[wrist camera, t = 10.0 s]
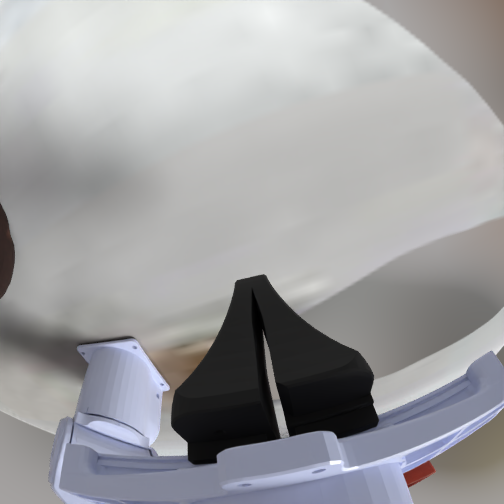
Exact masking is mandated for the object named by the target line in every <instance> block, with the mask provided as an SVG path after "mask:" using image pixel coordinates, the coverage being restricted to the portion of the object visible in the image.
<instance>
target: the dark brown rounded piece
mask: <svg viewBox="0 0 504 504" xmlns="http://www.w3.org/2000/svg"><path fill="white" fill-rule="evenodd" d="M14 263H15V250H14V244H13V241H12V238H11V235H10V230H9V224H8V220H7V216H6V214H5V212H4V210H3V208H2V205H1V204H0V299H1V298H2V297H3V295H4V294H5V292H6V290H7V288H8V286H9V284H10V282H11V278H12V274H13V269H14Z"/></svg>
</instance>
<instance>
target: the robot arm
mask: <svg viewBox="0 0 504 504" xmlns="http://www.w3.org/2000/svg"><path fill="white" fill-rule="evenodd" d="M263 332H264V335H265V338H266V341H267V344H268V347H269V350H270V355H271V360H272V365H273V371H274V377H275V382H276V386H277V389H278V393H279V397H280V400H281V404H282V408H283V411H284V416H285V421H286V425H287V429H288V432H289V436H290V437H288V438H283V439H281V437H280V433H279V428H278V424H277V419H276V414H275V410H274V405H273V400H272V396H271V391H270V386H269V382H268V376H267V369H266V360H265V349H264V338H263ZM77 350H78V352H79V353H80V354H81V355H82V357H83V358H84V359H85V360H86V361H87V363H88V364H89V365H88V368H87V372H86V375H85V378H84V382H83V385H82V389H81V392H80V396H79V400H78V403H77V407H76V411H75V415H74V417H73V419H72V418H70V417H68V416H67V417H66V418H63V419H61V420H60V422H59V425H58V428H57V432H56V435H55V439H54V443H53V448H52V453H51V458H50V471H49V477H48V479H49V482H50V486H51V489H52V490H53V491H54V493H55V494H56V495H57V496H58V497H59V498H60V499H61V501H62V502H63V503H64V504H413V500H412V498H411V495H410V492H409V489H408V486H407V484H406V481H405V478H404V475H403V473H405V472H407V471H409V470H411V469H413V468H415V467H417V466H419V465H421V464H423V463H425V462H426V461H428V460H430V459H432V458H434V457H435V456H437V455H439V454H440V453H442V452H443V451H445V450H447V449H448V448H450V447H452V446H453V445H455V444H456V443H458V442H459V441H461V440H463V439H464V438H466V437H467V436H468V435H470V434H472V433H473V432H474V431H476V430H477V429H479V428H480V427H482V426H483V425H484V424H486V423H487V422H489V421H490V420H491V419H493V418H494V417H495V416H496V415H497V414H498V413H499V412H500V411H501V409H503V407H504V367H503V365H502V364H501V363H500V361H499V360H498V358H497V357H496V355H495V354H494V353H493V351H490V352H488V353H486V354H485V355H483V356H482V357H480V358H478V359H477V360H475V361H474V362H473V363H472V364H471V365H470V366H469V368H468V369H467V372H466V374H464V375H463V376H461V377H459V378H457V379H456V380H454V381H452V382H450V383H448V384H446V385H444V386H443V387H441V388H439V389H437V390H435V391H433V392H431V393H429V394H427V395H425V396H423V397H420V398H418V399H416V400H414V401H412V402H409V403H407V404H405V405H403V406H400V407H398V408H396V409H393V410H391V411H388V412H386V413H383V414H381V415H378V416H377V413H376V411H375V409H374V406H373V403H374V401H373V398H372V396H371V389H372V385H373V381H374V375H373V372H372V370H371V368H370V367H369V365H368V363H367V362H366V361H365V359H364V358H363V357H362V356H361V354H360V353H359V352H358V351H356V350H354V349H352V348H349V347H347V346H345V345H342V344H340V343H338V342H337V341H335V340H333V339H331V338H329V337H328V336H326V335H324V334H323V333H321V332H320V331H318V330H317V329H315V328H314V327H312V326H311V325H310V324H308V323H307V322H306V321H305V320H303V319H302V318H301V317H300V316H299V315H297V314H296V313H295V312H294V311H293V310H292V309H291V308H290V307H289V306H288V305H287V304H286V303H285V302H284V300H283V299H282V298H281V297H280V296H279V295H278V293H277V292H276V291H275V289H274V288H273V287H272V285H271V284H270V282H269V280H268V279H267V276H266V275H264V274H263V275H258V276H254V277H250V278H245V279H241V280H237V281H236V282H235V288H234V293H233V297H232V300H231V303H230V306H229V310H228V312H227V315H226V318H225V320H224V322H223V325H222V327H221V329H220V331H219V333H218V335H217V337H216V339H215V341H214V343H213V344H212V346H211V348H210V349H209V351H208V353H207V354H206V356H205V357H204V358H203V360H202V361H201V362H200V364H199V365H198V366H197V368H196V369H195V370H194V371H193V373H192V374H191V375H190V376H189V377H188V378H187V379H186V380H185V381H184V382H183V383H182V385H181V386H180V387H179V388H177V389H176V390H175V394H174V398H173V403H172V412H171V426H172V428H173V429H174V430H175V431H176V432H177V433H178V434H179V435H180V436H181V437H182V438H183V439H184V440H185V441H187V442H188V456H158V454H157V452H156V451H155V449H153V448H151V447H149V446H150V445H151V444H152V443H153V442H154V441H155V439H156V438H157V436H158V434H159V430H160V416H161V403H162V392H163V391H168V390H169V388H170V387H169V385H168V384H167V383H166V381H165V380H164V379H163V377H162V376H161V375H160V373H159V372H158V370H157V369H156V368H155V366H154V365H153V363H152V362H151V361H150V359H149V358H148V356H147V355H146V353H145V352H144V351H143V349H142V348H141V346H140V345H139V343H138V342H137V340H135V339H125V340H118V341H110V342H103V343H95V344H87V345H79V346H78V347H77Z"/></svg>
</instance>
